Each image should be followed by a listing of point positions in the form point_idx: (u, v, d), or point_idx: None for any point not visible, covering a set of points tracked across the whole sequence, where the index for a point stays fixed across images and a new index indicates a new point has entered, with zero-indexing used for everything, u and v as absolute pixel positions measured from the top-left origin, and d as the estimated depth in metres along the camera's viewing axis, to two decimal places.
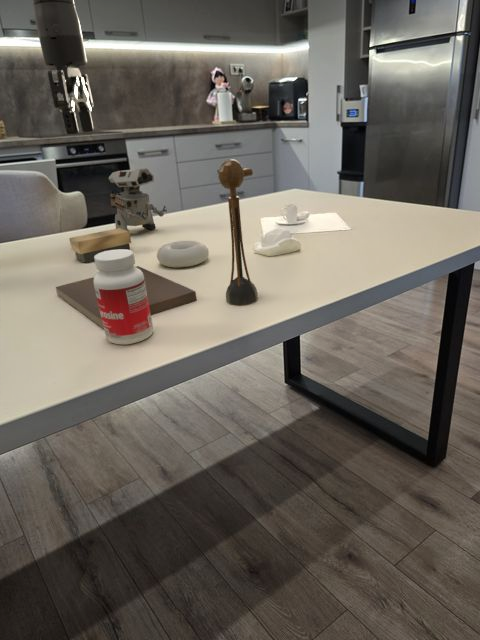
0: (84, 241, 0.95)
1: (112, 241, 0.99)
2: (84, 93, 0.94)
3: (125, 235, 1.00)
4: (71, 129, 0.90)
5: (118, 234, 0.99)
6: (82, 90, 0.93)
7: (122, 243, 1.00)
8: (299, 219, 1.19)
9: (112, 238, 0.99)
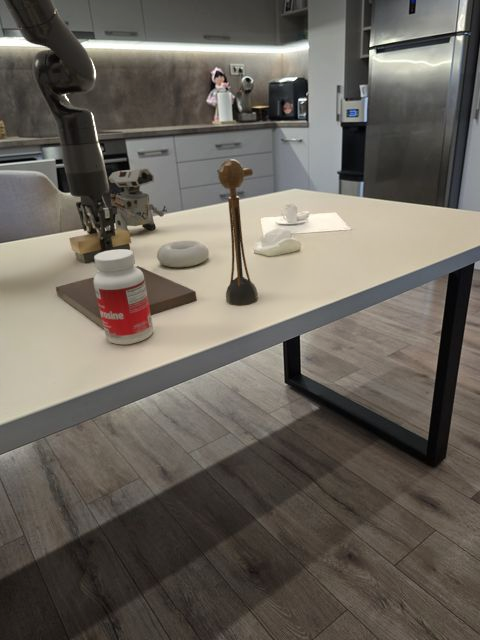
0: (84, 241, 0.95)
1: (112, 241, 0.99)
2: None
3: (125, 235, 1.00)
4: None
5: (118, 234, 0.99)
6: None
7: (122, 243, 1.00)
8: (299, 219, 1.19)
9: (112, 238, 0.99)
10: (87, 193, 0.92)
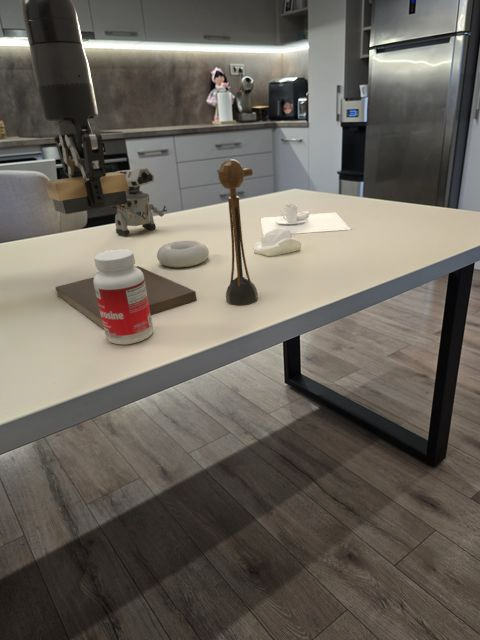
0: (64, 183, 0.70)
1: (102, 186, 0.74)
2: None
3: (119, 179, 0.75)
4: None
5: (110, 177, 0.74)
6: None
7: (116, 190, 0.75)
8: (299, 219, 1.19)
9: (103, 182, 0.74)
10: (67, 115, 0.67)
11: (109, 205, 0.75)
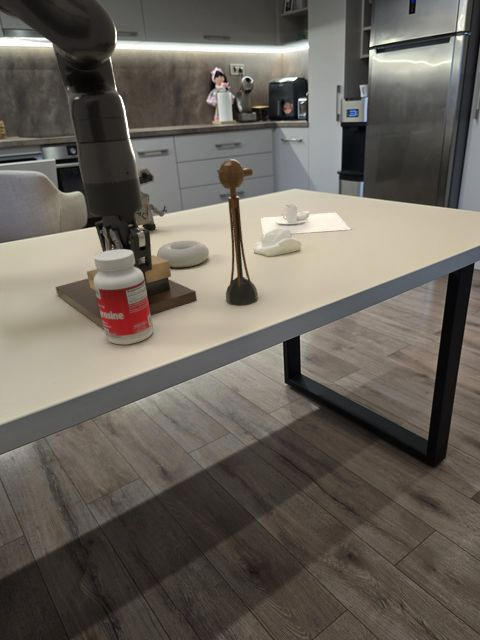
0: None
1: None
2: None
3: (163, 267, 0.73)
4: None
5: (154, 265, 0.72)
6: None
7: (159, 277, 0.73)
8: (299, 219, 1.19)
9: (147, 271, 0.71)
10: (114, 212, 0.65)
11: (152, 293, 0.73)
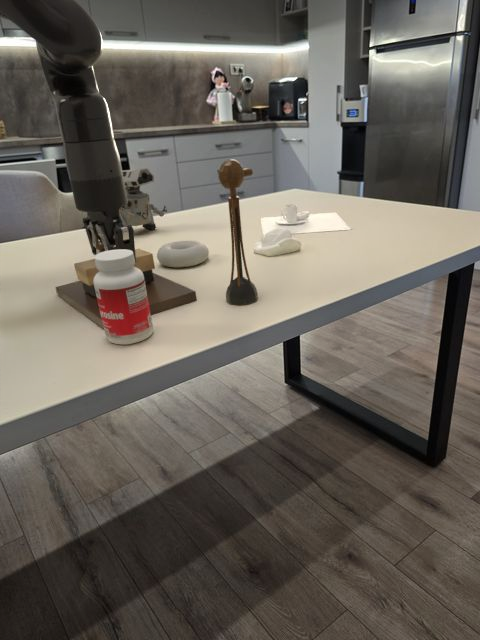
0: (94, 268, 0.71)
1: None
2: None
3: (147, 259, 0.76)
4: None
5: (138, 258, 0.75)
6: None
7: (143, 269, 0.76)
8: (299, 219, 1.19)
9: None
10: (99, 207, 0.68)
11: None
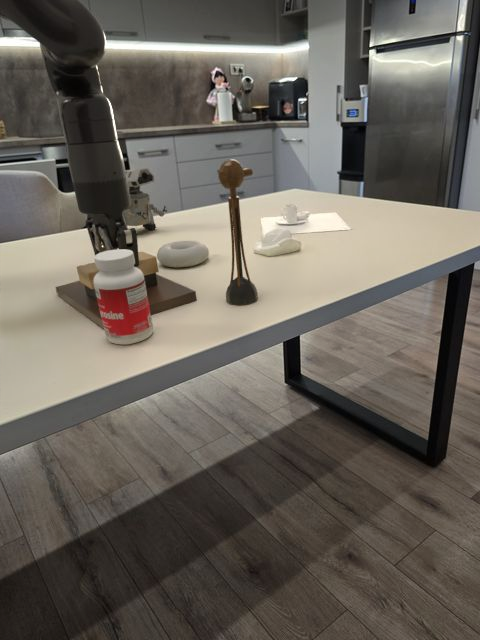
0: (97, 272, 0.70)
1: None
2: None
3: (150, 262, 0.75)
4: None
5: (142, 261, 0.74)
6: None
7: (147, 273, 0.75)
8: (299, 219, 1.19)
9: None
10: (102, 210, 0.67)
11: None
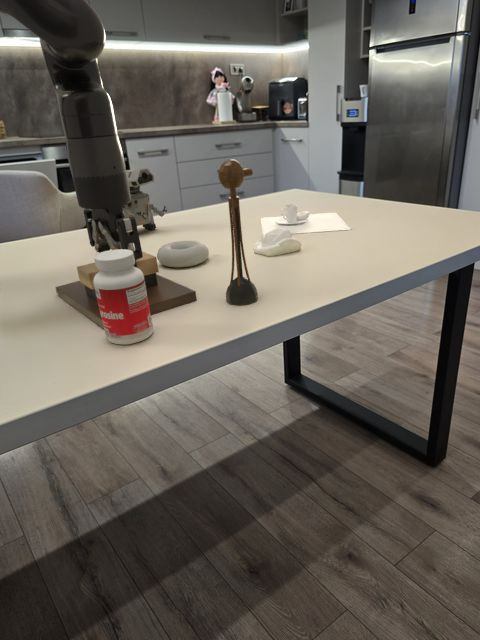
0: (97, 272, 0.70)
1: None
2: None
3: (150, 263, 0.75)
4: None
5: (142, 261, 0.74)
6: None
7: (147, 273, 0.75)
8: (299, 219, 1.19)
9: None
10: (102, 205, 0.67)
11: None
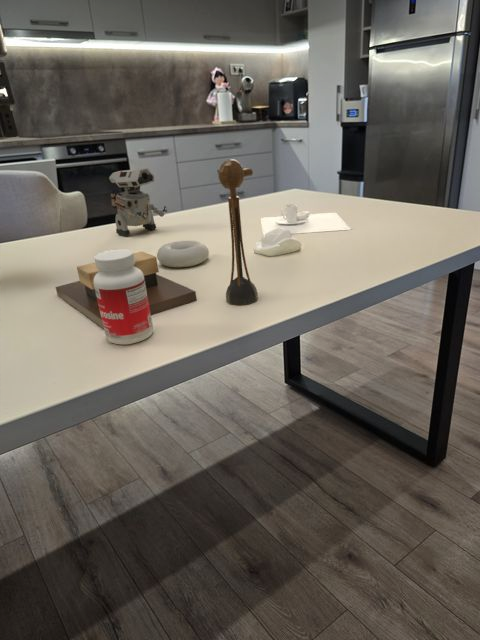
0: (97, 272, 0.70)
1: None
2: None
3: (150, 263, 0.75)
4: None
5: (142, 261, 0.74)
6: None
7: (147, 273, 0.75)
8: (299, 219, 1.19)
9: (135, 266, 0.74)
10: None
11: None
